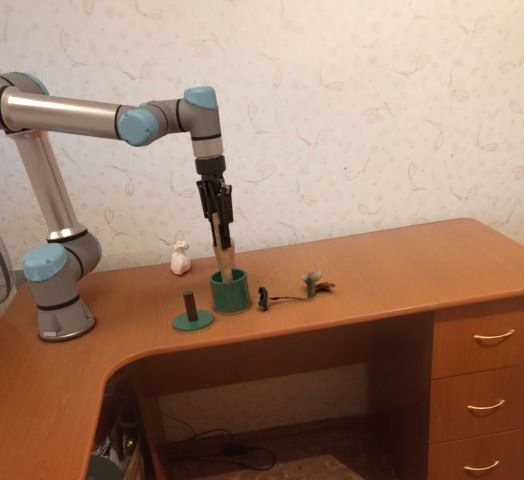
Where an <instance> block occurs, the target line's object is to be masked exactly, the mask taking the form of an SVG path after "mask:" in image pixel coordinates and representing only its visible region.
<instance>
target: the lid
mask: <svg viewBox="0 0 524 480" xmlns="http://www.w3.org/2000/svg"><path fill="white" fill-rule="evenodd" d="M182 298H183V302H184V307H185V312H182V313H180V314H178V315H177V316H176V317H174V318H173V320H172V327H173V328H174V329H175V330H177V331H180V332H193V331H198V330H203V329H205V328H206V327H209V326H210V325H212V324H213V322H214V321H215V314H214V313H213V312H211V311H209V310H205V309H197V306H196V305H197V304H196V299H195V294H194V291H193V290H185V291H183V292H182Z"/></svg>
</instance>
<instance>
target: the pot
mask: <svg viewBox="0 0 524 480" xmlns="http://www.w3.org/2000/svg"><path fill="white" fill-rule="evenodd" d="M232 276H233V281H232V282H225V283H223V282H222V275H221V271H218V270H217V271H215V272H213V273H212V274H211V275H210V276H209V278H208V280H209V286H210V292H211V298H212V304H213V308H214V310H215V311H216V312H218V313H221V314H234V313H238V312H242V311H244V310H246V309H248V308H249V307H250V305H251V295H250V289H249V281H248V275H247V271H245V269H241V268H237V269H232Z"/></svg>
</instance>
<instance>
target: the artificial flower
mask: <svg viewBox="0 0 524 480" xmlns="http://www.w3.org/2000/svg"><path fill="white" fill-rule="evenodd" d="M301 277H302V281H303V282H304V283H305V284H306V288H307V297H305V298H303V297H294V296H272V297H269V292H268V290H267V288H266V287H265V286H259V288H258V290H257V293H258V294H259V295H260V296H259V301H257V304H258V307H263V309H262V311H266V310H267V309H268V300H270V301H278V300H281V299H282V300H283V299H284V300H286V299H288V300H289V299H291V300H299V301H303V300H309V299H311V298H312V297H313V296H315V295H316V290H319V289H330V288H335V287H336V283H334V282H328V281H323V282H319V281H320V280H321V279H322V271H321V269H319V268H317V269H315V270H314V271H310V272H307V273H306V274H302V275H301ZM318 282H319V283H318Z"/></svg>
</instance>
